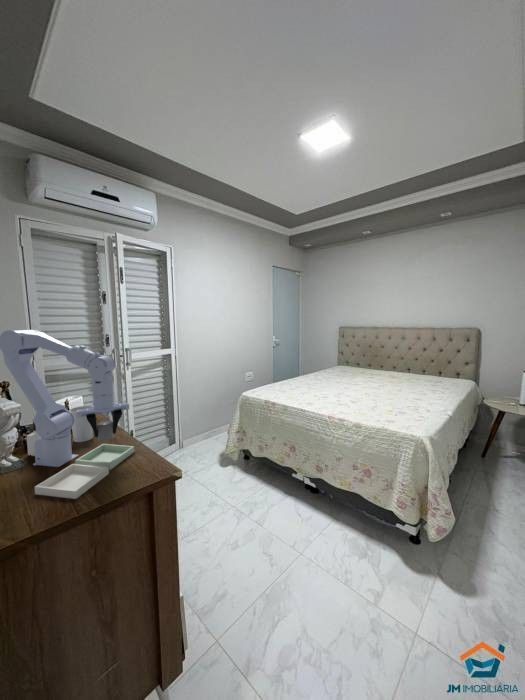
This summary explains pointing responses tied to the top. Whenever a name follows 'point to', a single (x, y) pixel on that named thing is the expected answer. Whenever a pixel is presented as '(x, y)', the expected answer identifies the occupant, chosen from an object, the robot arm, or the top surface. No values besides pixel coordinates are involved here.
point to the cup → (81, 426)
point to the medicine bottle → (32, 441)
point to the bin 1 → (72, 481)
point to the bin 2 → (106, 455)
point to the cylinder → (105, 431)
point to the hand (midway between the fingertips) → (105, 434)
